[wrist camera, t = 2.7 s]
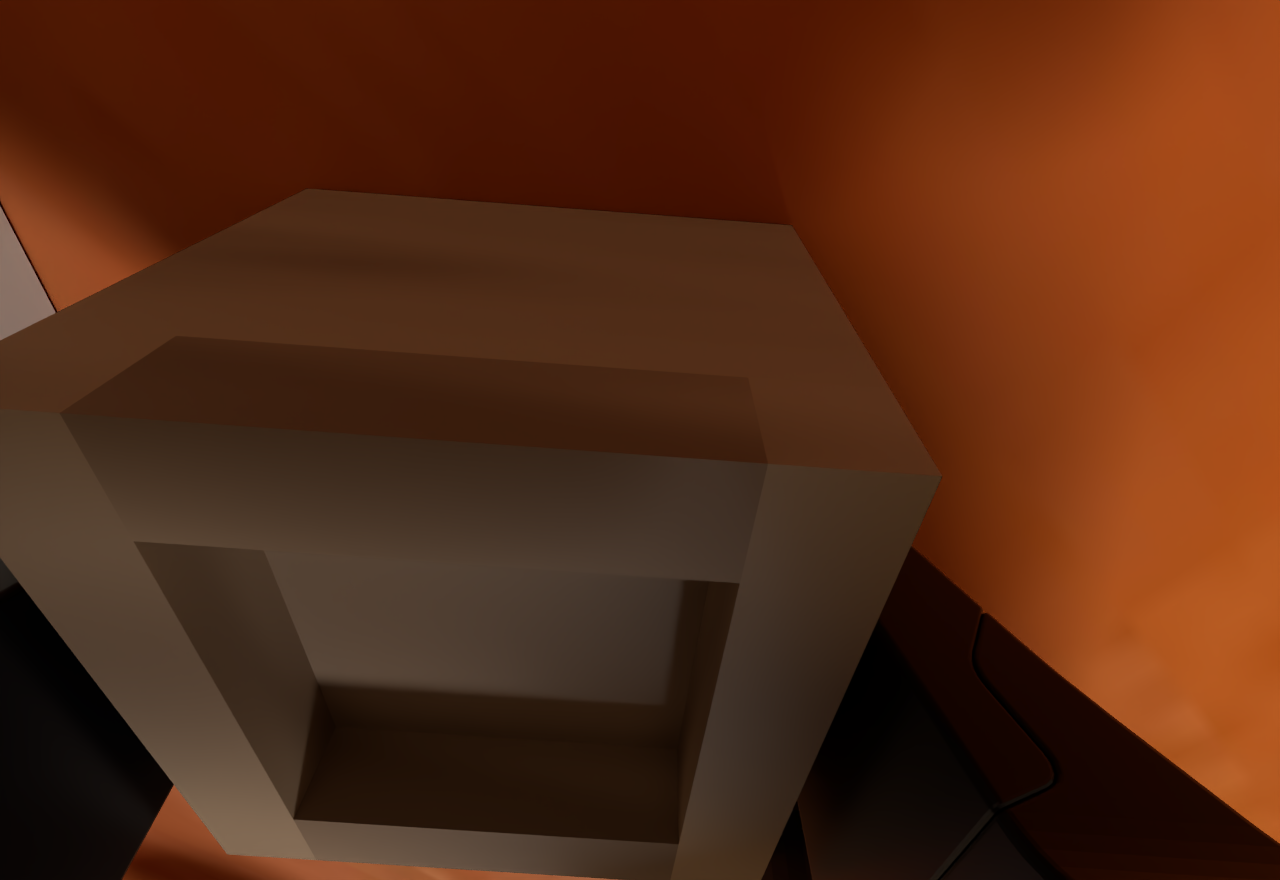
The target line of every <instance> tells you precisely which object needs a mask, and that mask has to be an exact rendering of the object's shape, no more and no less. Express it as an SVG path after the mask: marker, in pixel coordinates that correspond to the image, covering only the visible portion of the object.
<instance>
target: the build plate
mask: <svg viewBox="0 0 1280 880" xmlns="http://www.w3.org/2000/svg"><path fill="white" fill-rule="evenodd" d="M55 313H56V312H55V311H54V309H53V307H52V305H51V303H50V301H49V299H48V297H47V295H46V293H45V291H44V289H43V287H42V286H41V284H40V282H39V280H38V278H37V276H36V274H35V272H34V270H33V268H32V266H31V264H30V262H29V261H28V259H27V257H26V255H25V253H24V251H23V249H22V247H21V245H20V243H19V241H18V239H17V237H16V235H15V234H14V232H13V230H12V228H11V226H10V224H9V222H8V220H7V218H6V216H5V214H4V212H3V210H2V209H1V207H0V340H2V339H4V338H6V337H8V336H10V335H12V334H14V333H16V332H18V331H20V330H22V329H24V328H26V327H28V326H30V325H32V324H34V323H36V322H38V321H40V320H42V319H44V318H47V317H49V316H51V315H53V314H55Z"/></svg>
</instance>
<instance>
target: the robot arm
mask: <svg viewBox="0 0 1280 880" xmlns="http://www.w3.org/2000/svg"><path fill="white" fill-rule="evenodd" d="M982 612H983V609H982V608H981V607H980V606H979V605H978V604H977V603H976V602H975V601H974V600H973V599H971V598H970V597H969V596H968V595H967V594H966V593H965V592H963V591H962V590H961V589H960V588H959V587H958V586H957V585H956V584H954V583H953V582H952V581H951V580H950V579H949V578H948V577H946V576H945V575H944V574H943V573H942V572H941V571H940V570H938V569H937V568H936V567H935V566H934V565H933V564H932V563H931V562H929V561H928V560H927V559H926V558H925V557H924V556H923V555H921V554H920V553H919V552H918V551H917V550H916V549H915V548H914V547H912V546H911V547H910V549H909V552H908V554H907V556H906V558H905V561H904V563H903V565H902V567H901V570H900V572H899V574H898V576H897V578H896V581H895V583H894V585H893V587H892V590H891V592H890V594H889V596H888V598H887V601H886V603H885V605H884V607H883V610H882V612H881V614H880V616H879V619H878V621H877V623H876V625H875V627H874V630H873V632H872V634H871V636H870V639H869V641H868V643H867V645H866V647H865V650H864V652H863V654H862V656H861V659H860V661H859V663H858V665H857V668H856V670H855V672H854V674H853V676H852V679H851V681H850V683H849V685H848V688H847V690H846V692H845V694H844V696H843V699H842V701H841V703H840V705H839V708H838V710H837V712H836V714H835V716H834V719H833V721H832V723H831V725H830V728H829V730H828V732H827V734H826V737H825V739H824V741H823V743H822V745H821V748H820V750H819V752H818V754H817V757H816V759H815V761H814V763H813V765H812V768H811V770H810V772H809V774H808V777H807V779H806V781H805V783H804V786H803V788H802V790H801V792H800V794H799V797H798V799H797V801H796V803H795V806H794V808H793V810H792V812H791V814H790V817H789V819H788V821H787V823H786V826H785V828H784V830H783V832H782V834H781V837H780V839H779V841H778V843H777V846H776V848H775V850H774V852H773V855H772V857H771V859H770V861H769V863H768V866H767V868H766V870H765V872H764V875H763V877H762V879H761V880H1280V844H1279V843H1278V842H1277V841H1275V840H1274V839H1273V838H1271V837H1270V836H1268V835H1267V834H1266V833H1264V832H1263V831H1261V830H1260V829H1259V828H1257V827H1256V826H1255V825H1253V824H1252V823H1251V822H1249V821H1248V820H1247V819H1246V818H1244V817H1243V816H1242V815H1240V814H1239V813H1238V812H1236V811H1235V810H1234V809H1232V808H1231V807H1230V806H1229V805H1227V804H1226V803H1225V802H1223V801H1222V800H1221V799H1219V798H1218V797H1217V796H1216V795H1214V794H1213V793H1212V792H1210V791H1209V790H1208V789H1206V788H1205V787H1204V786H1203V785H1201V784H1200V783H1199V782H1197V781H1196V780H1195V779H1193V778H1192V777H1191V776H1189V775H1188V774H1187V773H1186V772H1184V771H1183V770H1182V769H1180V768H1179V767H1178V766H1176V765H1175V764H1174V763H1173V762H1171V761H1170V760H1169V759H1167V758H1166V757H1165V756H1163V755H1162V754H1161V753H1160V752H1158V751H1157V750H1156V749H1154V748H1153V747H1152V746H1150V745H1149V744H1148V743H1147V742H1145V741H1144V740H1143V739H1141V738H1140V737H1139V736H1137V735H1136V734H1135V733H1133V732H1132V731H1131V730H1130V729H1128V728H1127V727H1126V726H1124V725H1123V724H1122V723H1120V722H1119V721H1118V720H1117V719H1115V718H1114V717H1113V716H1111V715H1110V714H1109V713H1108V712H1106V711H1105V710H1104V709H1103V708H1101V707H1100V706H1099V705H1098V704H1096V703H1095V702H1094V701H1092V700H1091V699H1090V698H1089V697H1087V696H1086V695H1085V694H1084V693H1082V692H1081V691H1080V690H1079V689H1077V688H1076V687H1075V686H1074V685H1072V684H1071V683H1070V682H1068V681H1067V680H1066V679H1065V678H1063V677H1062V676H1061V675H1060V674H1058V673H1057V672H1056V671H1055V670H1054V669H1053V668H1051V667H1050V666H1049V665H1048V664H1047V663H1045V662H1044V661H1043V660H1042V659H1041V658H1040V657H1038V656H1037V655H1036V654H1035V653H1034V652H1032V651H1031V650H1030V649H1029V648H1028V647H1027V646H1025V645H1024V644H1023V643H1022V642H1021V641H1020V640H1018V639H1017V638H1016V637H1015V636H1014V635H1013V634H1011V633H1010V632H1009V631H1008V630H1007V629H1006V628H1005V627H1003V626H1002V625H1001V624H1000V623H999V622H998V621H997V620H996V619H994V618H993V617H992V616H991V615H990V614H988V613H983V614H982ZM173 785H174V784H173V783H172V781H171V780H170V779H169V777H168V776H167V775H166V773H165V772H164V771H163V770H162V768H161V767H160V766H159V764H158V763H157V762H156V760H155V759H154V758H153V756H152V755H151V754H150V753H149V751H148V750H147V749H146V747H145V746H144V745H143V743H142V742H141V741H140V740H139V738H138V737H137V736H136V734H135V733H134V732H133V730H132V729H131V728H130V726H129V725H128V724H127V723H126V721H125V720H124V719H123V717H122V716H121V715H120V713H119V712H118V711H117V710H116V708H115V707H114V706H113V704H112V703H111V702H110V700H109V699H108V698H107V696H106V695H105V694H104V693H103V691H102V690H101V689H100V687H99V686H98V685H97V683H96V682H95V681H94V679H93V678H92V677H91V676H90V674H89V673H88V672H87V670H86V669H85V668H84V666H83V665H82V664H81V663H80V661H79V660H78V659H77V657H76V656H75V655H74V653H73V652H72V651H71V649H70V648H69V647H68V646H67V644H66V643H65V642H64V640H63V639H62V638H61V636H60V635H59V634H58V632H57V631H56V630H55V629H54V627H53V626H52V625H51V623H50V622H49V621H48V619H47V618H46V617H45V616H44V614H43V613H42V612H41V610H40V609H39V608H38V606H37V605H36V604H35V602H34V601H33V600H32V599H31V597H30V596H29V595H28V593H27V592H26V591H25V589H24V588H23V587H22V586H21V584H20V583H19V582H18V580H17V579H16V578H15V576H14V575H13V574H12V572H11V571H10V570H9V569H8V567H7V566H6V565H5V563H4V562H3V561H2V559H1V558H0V880H122V879H123V877H124V875H125V873H126V871H127V870H128V868H129V866H130V864H131V862H132V860H133V859H134V857H135V855H136V853H137V851H138V849H139V848H140V846H141V844H142V842H143V840H144V838H145V837H146V835H147V833H148V831H149V829H150V827H151V826H152V824H153V822H154V820H155V818H156V816H157V815H158V813H159V811H160V809H161V807H162V805H163V804H164V802H165V800H166V798H167V796H168V795H169V793H170V791H171V789H172V787H173Z"/></svg>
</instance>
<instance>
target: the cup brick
mask: <svg viewBox="0 0 1280 880" xmlns="http://www.w3.org/2000/svg"><path fill="white" fill-rule="evenodd" d="M941 478H942V475H941V473H940V472H939V470H938V468H937V467H936V465H935V463H934V462H933V460H932V458H931V457H930V455H929V453H928V452H927V450H926V448H925V447H924V445H923V443H922V442H921V440H920V438H919V437H918V435H917V433H916V432H915V430H914V428H913V427H912V425H911V423H910V422H909V420H908V418H907V416H906V415H905V413H904V411H903V410H902V408H901V406H900V405H899V403H898V401H897V400H896V398H895V396H894V395H893V393H892V391H891V390H890V388H889V386H888V385H887V383H886V381H885V380H884V378H883V376H882V375H881V373H880V371H879V370H878V368H877V366H876V365H875V363H874V361H873V360H872V358H871V356H870V355H869V353H868V351H867V350H866V348H865V346H864V345H863V343H862V341H861V340H860V338H859V336H858V335H857V333H856V331H855V330H854V328H853V326H852V325H851V323H850V321H849V320H848V318H847V316H846V315H845V313H844V311H843V310H842V308H841V306H840V305H839V303H838V301H837V300H836V298H835V296H834V295H833V293H832V291H831V290H830V288H829V286H828V285H827V283H826V281H825V280H824V278H823V276H822V275H821V273H820V271H819V270H818V268H817V266H816V265H815V263H814V261H813V260H812V258H811V256H810V255H809V253H808V251H807V250H806V248H805V246H804V245H803V243H802V241H801V240H800V238H799V236H798V235H797V233H796V231H795V230H794V228H793V226H792V225H781V224H768V223H755V222H742V221H729V220H716V219H702V218H689V217H676V216H663V215H650V214H637V213H623V212H610V211H597V210H584V209H571V208H558V207H545V206H531V205H518V204H505V203H492V202H479V201H466V200H453V199H439V198H426V197H413V196H400V195H387V194H374V193H361V192H347V191H334V190H321V189H308V188H307V189H305V190H303V191H301V192H299V193H297V194H295V195H293V196H291V197H289V198H287V199H285V200H283V201H281V202H279V203H277V204H275V205H273V206H271V207H269V208H267V209H265V210H263V211H261V212H259V213H257V214H255V215H253V216H250V217H248V218H246V219H244V220H242V221H240V222H238V223H236V224H234V225H232V226H230V227H228V228H226V229H224V230H222V231H220V232H218V233H216V234H214V235H212V236H210V237H208V238H206V239H204V240H202V241H200V242H198V243H196V244H194V245H192V246H190V247H188V248H186V249H184V250H182V251H180V252H178V253H176V254H174V255H172V256H170V257H168V258H166V259H164V260H162V261H160V262H158V263H156V264H154V265H152V266H150V267H147V268H145V269H143V270H141V271H139V272H137V273H135V274H133V275H131V276H129V277H127V278H125V279H123V280H121V281H119V282H117V283H115V284H113V285H111V286H109V287H107V288H105V289H103V290H101V291H99V292H97V293H95V294H93V295H91V296H89V297H87V298H85V299H83V300H81V301H79V302H77V303H75V304H73V305H71V306H69V307H67V308H65V309H63V310H61V311H59V312H57V313H55V314H53V315H51V316H49V317H47V318H44V319H42V320H40V321H38V322H36V323H34V324H32V325H30V326H28V327H26V328H24V329H22V330H20V331H18V332H16V333H14V334H12V335H10V336H8V337H6V338H4V339H2V340H0V558H1V559H2V561H3V562H4V563H5V565H6V566H7V567H8V569H9V570H10V571H11V572H12V574H13V575H14V576H15V578H16V579H17V580H18V582H19V583H20V584H21V586H22V587H23V588H24V589H25V591H26V592H27V593H28V595H29V596H30V597H31V599H32V600H33V601H34V602H35V604H36V605H37V606H38V608H39V609H40V610H41V612H42V613H43V614H44V616H45V617H46V618H47V619H48V621H49V622H50V623H51V625H52V626H53V627H54V629H55V630H56V631H57V632H58V634H59V635H60V636H61V638H62V639H63V640H64V642H65V643H66V644H67V646H68V647H69V648H70V649H71V651H72V652H73V653H74V655H75V656H76V657H77V659H78V660H79V661H80V663H81V664H82V665H83V666H84V668H85V669H86V670H87V672H88V673H89V674H90V676H91V677H92V678H93V679H94V681H95V682H96V683H97V685H98V686H99V687H100V689H101V690H102V691H103V693H104V694H105V695H106V696H107V698H108V699H109V700H110V702H111V703H112V704H113V706H114V707H115V708H116V710H117V711H118V712H119V713H120V715H121V716H122V717H123V719H124V720H125V721H126V723H127V724H128V725H129V726H130V728H131V729H132V730H133V732H134V733H135V734H136V736H137V737H138V738H139V740H140V741H141V742H142V743H143V745H144V746H145V747H146V749H147V750H148V751H149V753H150V754H151V755H152V756H153V758H154V759H155V760H156V762H157V763H158V764H159V766H160V767H161V768H162V770H163V771H164V772H165V773H166V775H167V776H168V777H169V779H170V780H171V781H172V783H173V784H174V785H175V787H176V788H177V789H178V790H179V792H180V793H181V794H182V796H183V797H184V798H185V800H186V801H187V802H188V803H189V805H190V806H191V807H192V809H193V810H194V811H195V813H196V814H197V815H198V817H199V818H200V819H201V820H202V822H203V823H204V824H205V826H206V827H207V828H208V830H209V831H210V832H211V834H212V835H213V836H214V837H215V839H216V840H217V841H218V843H219V844H220V845H221V847H222V848H223V849H224V850H225V852H226V853H227V854H230V855H246V856H262V857H277V858H293V859H309V860H324V861H340V862H356V863H371V864H387V865H403V866H418V867H434V868H450V869H465V870H481V871H497V872H512V873H528V874H544V875H559V876H575V877H591V878H606V879H622V880H761V879H762V877H763V875H764V872H765V870H766V868H767V866H768V863H769V861H770V859H771V857H772V855H773V852H774V850H775V848H776V846H777V843H778V841H779V839H780V837H781V834H782V832H783V830H784V828H785V826H786V823H787V821H788V819H789V817H790V814H791V812H792V810H793V808H794V806H795V803H796V801H797V799H798V797H799V794H800V792H801V790H802V788H803V786H804V783H805V781H806V779H807V777H808V774H809V772H810V770H811V768H812V765H813V763H814V761H815V759H816V757H817V754H818V752H819V750H820V748H821V745H822V743H823V741H824V739H825V737H826V734H827V732H828V730H829V728H830V725H831V723H832V721H833V719H834V716H835V714H836V712H837V710H838V708H839V705H840V703H841V701H842V699H843V696H844V694H845V692H846V690H847V688H848V685H849V683H850V681H851V679H852V676H853V674H854V672H855V670H856V668H857V665H858V663H859V661H860V659H861V656H862V654H863V652H864V650H865V647H866V645H867V643H868V641H869V639H870V636H871V634H872V632H873V630H874V627H875V625H876V623H877V621H878V619H879V616H880V614H881V612H882V610H883V607H884V605H885V603H886V601H887V598H888V596H889V594H890V592H891V590H892V587H893V585H894V583H895V581H896V578H897V576H898V574H899V572H900V570H901V567H902V565H903V563H904V561H905V558H906V556H907V554H908V552H909V549H910V547H911V545H912V543H913V541H914V538H915V536H916V534H917V532H918V529H919V527H920V525H921V523H922V521H923V518H924V516H925V514H926V512H927V509H928V507H929V505H930V503H931V501H932V498H933V496H934V494H935V492H936V489H937V487H938V485H939V483H940V480H941Z"/></svg>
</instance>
